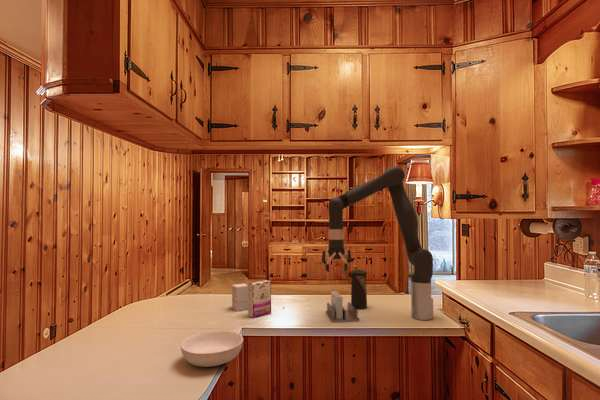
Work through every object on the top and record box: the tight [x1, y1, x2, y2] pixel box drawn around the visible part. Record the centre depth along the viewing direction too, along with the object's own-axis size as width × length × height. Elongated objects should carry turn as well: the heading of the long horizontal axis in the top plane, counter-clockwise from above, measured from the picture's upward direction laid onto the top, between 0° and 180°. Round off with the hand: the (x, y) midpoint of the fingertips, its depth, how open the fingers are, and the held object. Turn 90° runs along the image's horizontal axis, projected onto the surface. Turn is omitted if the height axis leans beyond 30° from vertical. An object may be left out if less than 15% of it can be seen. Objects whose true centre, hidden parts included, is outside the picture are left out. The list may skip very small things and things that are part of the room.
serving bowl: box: [180, 330, 244, 368], centre depth 119 cm, size 21×21×7 cm
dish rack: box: [325, 301, 360, 323], centre depth 168 cm, size 13×16×5 cm
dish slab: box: [330, 290, 344, 319], centre depth 167 cm, size 3×12×10 cm, turn 6°
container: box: [349, 269, 368, 310], centre depth 184 cm, size 9×9×20 cm
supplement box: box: [231, 283, 248, 312], centre depth 182 cm, size 7×7×13 cm
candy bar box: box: [247, 279, 272, 319], centre depth 171 cm, size 11×5×16 cm, turn 132°
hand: (336, 271), depth 168 cm, fingers open, 8 cm apart
